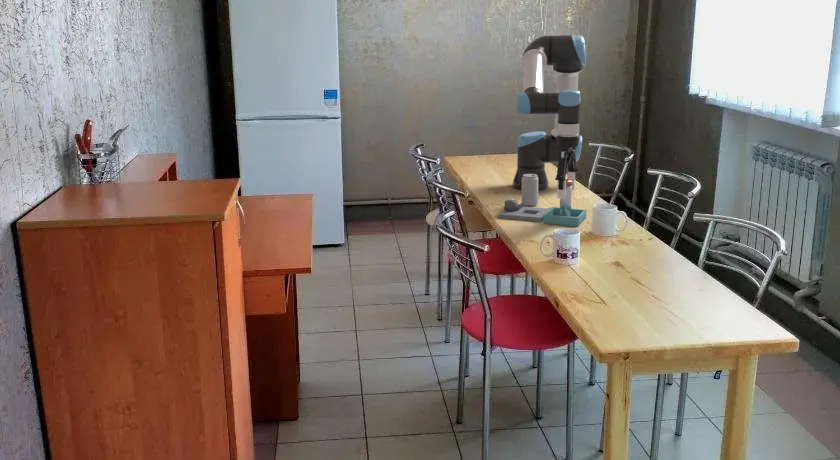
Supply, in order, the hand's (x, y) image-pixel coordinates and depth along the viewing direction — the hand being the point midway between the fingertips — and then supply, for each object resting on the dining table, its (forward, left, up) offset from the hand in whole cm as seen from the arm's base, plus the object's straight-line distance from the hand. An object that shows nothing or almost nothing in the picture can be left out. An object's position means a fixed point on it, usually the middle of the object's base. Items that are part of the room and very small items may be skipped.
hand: (565, 193), depth 282 cm
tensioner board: (-2, -15, -10) cm, 18 cm away
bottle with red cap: (0, 0, -9) cm, 9 cm away
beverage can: (-18, -18, -10) cm, 27 cm away
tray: (0, 0, -10) cm, 10 cm away
